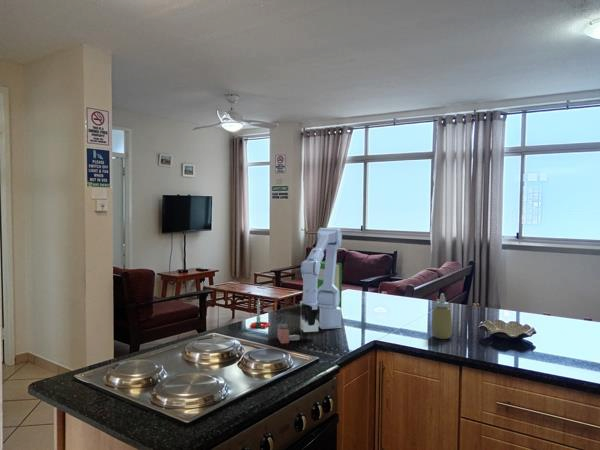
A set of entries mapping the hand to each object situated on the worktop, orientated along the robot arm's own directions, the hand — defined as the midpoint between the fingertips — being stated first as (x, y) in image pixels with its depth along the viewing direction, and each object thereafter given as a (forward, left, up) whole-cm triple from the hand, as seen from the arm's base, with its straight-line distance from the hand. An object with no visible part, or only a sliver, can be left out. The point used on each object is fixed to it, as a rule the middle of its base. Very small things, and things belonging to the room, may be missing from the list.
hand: (309, 323), depth 174 cm
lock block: (0, 0, -3) cm, 3 cm away
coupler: (+9, 0, -6) cm, 11 cm away
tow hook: (+16, -24, -6) cm, 30 cm away
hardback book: (-24, -56, -6) cm, 62 cm away
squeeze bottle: (-54, +10, -6) cm, 55 cm away
